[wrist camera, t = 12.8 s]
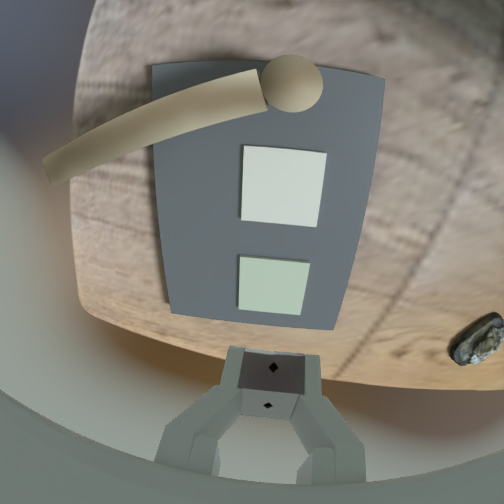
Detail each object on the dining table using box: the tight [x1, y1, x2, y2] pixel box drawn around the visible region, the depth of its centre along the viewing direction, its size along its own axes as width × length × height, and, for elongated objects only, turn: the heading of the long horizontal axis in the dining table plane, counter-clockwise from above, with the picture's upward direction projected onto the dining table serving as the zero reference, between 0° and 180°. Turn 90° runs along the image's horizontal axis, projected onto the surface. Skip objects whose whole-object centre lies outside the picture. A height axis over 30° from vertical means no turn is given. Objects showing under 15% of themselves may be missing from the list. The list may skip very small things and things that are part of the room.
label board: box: [152, 61, 385, 330], centre depth 27 cm, size 20×28×4 cm
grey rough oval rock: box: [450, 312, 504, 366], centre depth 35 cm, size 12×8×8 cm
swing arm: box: [42, 55, 323, 188], centre depth 20 cm, size 4×24×3 cm, turn 105°
